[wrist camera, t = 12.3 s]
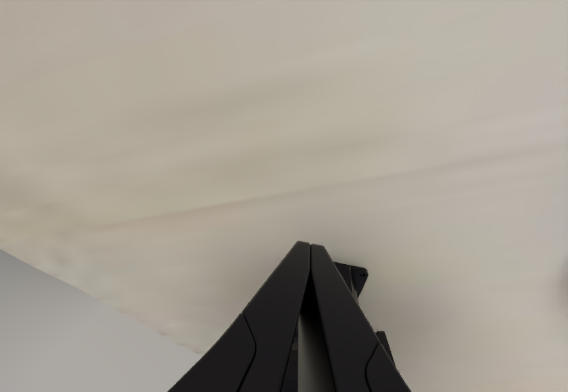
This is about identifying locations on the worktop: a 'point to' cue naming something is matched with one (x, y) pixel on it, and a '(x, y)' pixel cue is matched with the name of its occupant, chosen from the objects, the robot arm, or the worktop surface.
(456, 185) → the worktop surface
